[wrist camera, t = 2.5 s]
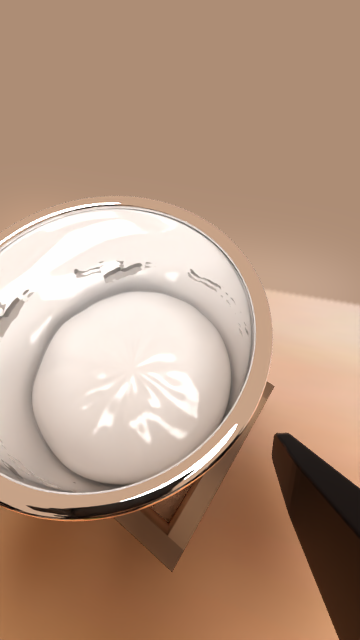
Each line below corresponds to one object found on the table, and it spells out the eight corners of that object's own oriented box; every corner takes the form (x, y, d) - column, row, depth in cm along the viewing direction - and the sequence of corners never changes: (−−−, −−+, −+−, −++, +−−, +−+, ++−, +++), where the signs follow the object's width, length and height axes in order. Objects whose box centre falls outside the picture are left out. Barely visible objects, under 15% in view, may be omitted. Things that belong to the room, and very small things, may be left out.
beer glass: (88, 395, 19) (-123, 261, 6) (172, 347, 21) (167, 155, 7) (133, 494, 16) (-55, 689, 3) (225, 430, 18) (368, 372, 5)
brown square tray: (172, 554, 15) (172, 572, 13) (39, 432, 18) (20, 429, 16) (262, 393, 19) (274, 386, 17) (143, 314, 22) (139, 298, 20)
